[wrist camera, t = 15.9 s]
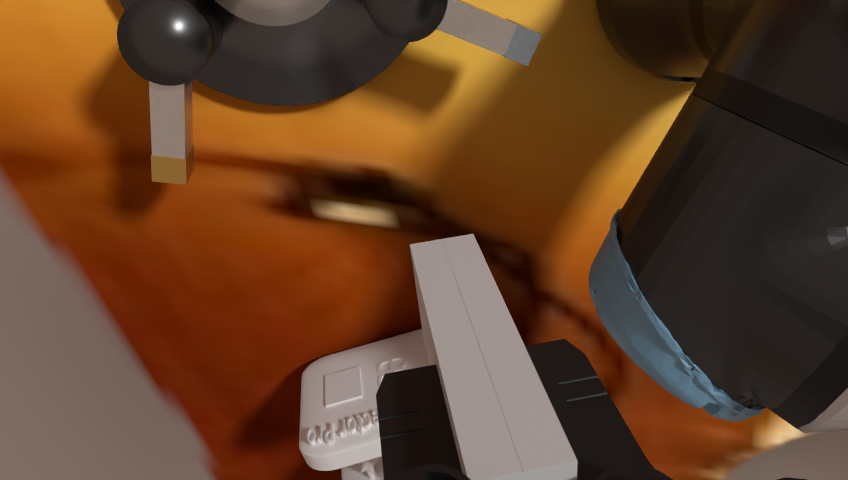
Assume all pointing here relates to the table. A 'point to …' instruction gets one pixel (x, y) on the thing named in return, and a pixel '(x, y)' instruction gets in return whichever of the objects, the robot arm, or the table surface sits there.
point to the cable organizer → (351, 404)
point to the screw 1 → (170, 72)
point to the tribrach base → (295, 50)
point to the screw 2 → (453, 25)
